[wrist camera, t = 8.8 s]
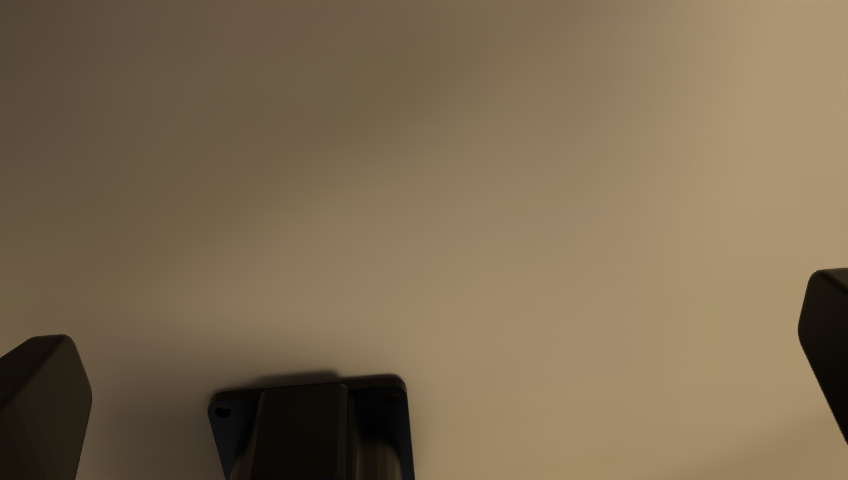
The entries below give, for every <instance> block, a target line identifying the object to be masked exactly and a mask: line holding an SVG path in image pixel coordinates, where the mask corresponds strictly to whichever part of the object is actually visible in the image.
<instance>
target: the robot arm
mask: <svg viewBox="0 0 848 480" xmlns="http://www.w3.org/2000/svg"><path fill="white" fill-rule="evenodd" d="M798 336H799V340H800V344H801V346H802V348H803V351H804V353H805V355H806V357H807V359H808V361H809V364H810V366H811V368H812V370H813V372H814V374H815V377H816V379H817V381H818V383H819V385H820V387H821V390H822V392H823V394H824V396H825V398H826V400H827V403H828V405H829V407H830V409H831V411H832V413H833V416H834V418H835V420H836V422H837V424H838V426H839V429H840V431H841V433H842V435H843V437H844V439H845V441H846V443H847V445H848V268H835V269H824V270H818V271H816V272H814V273H813V274H812V275H811V277H810V278H809V281H808V285H807V289H806V293H805V297H804V301H803V306H802V310H801V314H800V318H799V322H798ZM391 391H393V392H396V394H394V395H388V394H386V393H387V392H391ZM91 405H92V391H91V386H90V383H89V380H88V378H87V375H86V372H85V370H84V367H83V364H82V361H81V359H80V356H79V353H78V351H77V348H76V345H75V343H74V341H73V340H72V339H71V338H70V337H69V336H67V335H65V334H59V335H46V336H35V337H32V338H30V339H28V340H27V341H25V342H24V343H22V344H21V345H19V346H18V347H16V348H15V349H13V350H12V351H10V352H9V353H7V354H6V355H4V356H3V357H1V358H0V480H75V478H76V474H77V469H78V465H79V460H80V455H81V451H82V446H83V442H84V437H85V433H86V428H87V424H88V419H89V415H90V410H91ZM220 406H225V407H227V408H229V409H221V408H220ZM208 416H209V420H210V424H211V427H212V431H213V435H214V438H215V442H216V446H217V449H218V453H219V457H220V460H221V464H222V468H223V471H224V475H225V478H226V480H415V474H414V463H413V453H412V442H411V431H410V420H409V409H408V398H407V388H406V385H405V383H404V382H403V381H402V380H400V379H398V378H379V379H368V380H356V381H345V382H333V383H322V384H310V385H299V386H287V387H276V388H264V389H253V390H241V391H230V392H221V393H217V394H215V395H214V396H212V398H211V399H210V402H209V406H208Z"/></svg>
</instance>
